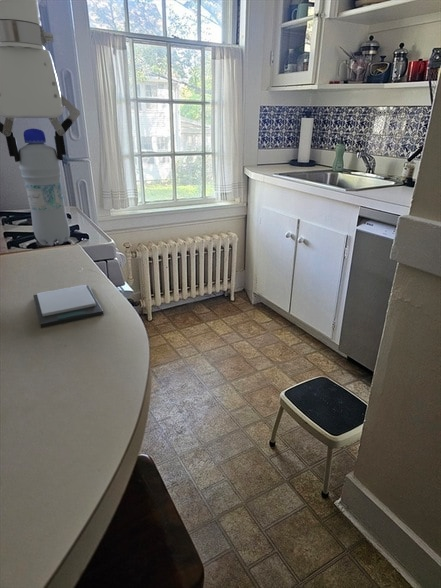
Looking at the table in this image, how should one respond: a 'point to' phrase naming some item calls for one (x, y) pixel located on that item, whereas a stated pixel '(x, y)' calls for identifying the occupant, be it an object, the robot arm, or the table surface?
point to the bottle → (43, 188)
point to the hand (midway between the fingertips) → (39, 159)
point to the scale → (66, 305)
